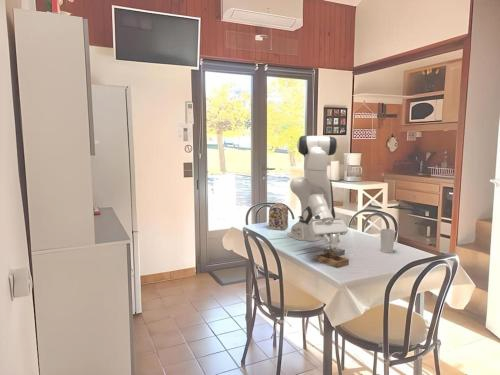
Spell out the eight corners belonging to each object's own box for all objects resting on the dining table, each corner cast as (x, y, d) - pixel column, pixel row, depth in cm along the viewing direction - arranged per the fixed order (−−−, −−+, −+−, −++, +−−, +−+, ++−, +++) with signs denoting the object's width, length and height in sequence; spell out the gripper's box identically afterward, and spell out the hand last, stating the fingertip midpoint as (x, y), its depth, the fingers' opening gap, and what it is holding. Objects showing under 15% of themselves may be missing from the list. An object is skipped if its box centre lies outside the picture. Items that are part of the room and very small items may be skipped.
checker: (323, 252, 205) (323, 247, 205) (331, 250, 210) (332, 245, 209) (336, 256, 198) (336, 250, 198) (344, 254, 203) (344, 248, 202)
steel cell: (327, 251, 187) (328, 232, 186) (332, 250, 190) (333, 231, 188) (333, 253, 184) (334, 234, 183) (339, 251, 186) (339, 233, 185)
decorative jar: (284, 230, 254) (285, 204, 252) (268, 229, 258) (268, 203, 255) (288, 227, 265) (288, 202, 263) (272, 225, 269) (272, 201, 267)
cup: (376, 251, 208) (377, 230, 207) (383, 248, 214) (384, 228, 212) (390, 254, 203) (391, 232, 201) (396, 251, 208) (398, 230, 207)
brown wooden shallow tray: (316, 260, 191) (316, 255, 191) (327, 257, 196) (327, 252, 196) (337, 267, 180) (337, 262, 180) (348, 264, 185) (348, 259, 185)
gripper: (339, 221, 200) (349, 244, 192) (305, 224, 193) (314, 247, 185) (344, 214, 195) (354, 237, 187) (309, 217, 188) (318, 240, 180)
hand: (334, 242), depth 186 cm, fingers closed on steel cell, 4 cm apart
